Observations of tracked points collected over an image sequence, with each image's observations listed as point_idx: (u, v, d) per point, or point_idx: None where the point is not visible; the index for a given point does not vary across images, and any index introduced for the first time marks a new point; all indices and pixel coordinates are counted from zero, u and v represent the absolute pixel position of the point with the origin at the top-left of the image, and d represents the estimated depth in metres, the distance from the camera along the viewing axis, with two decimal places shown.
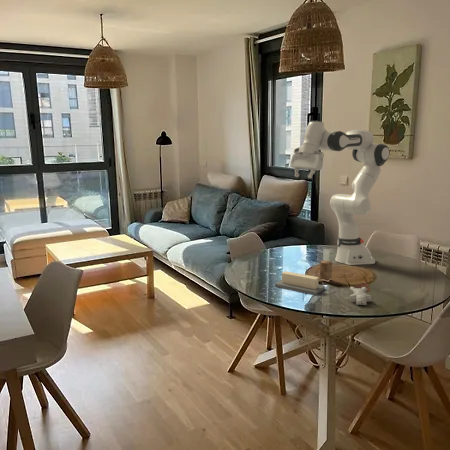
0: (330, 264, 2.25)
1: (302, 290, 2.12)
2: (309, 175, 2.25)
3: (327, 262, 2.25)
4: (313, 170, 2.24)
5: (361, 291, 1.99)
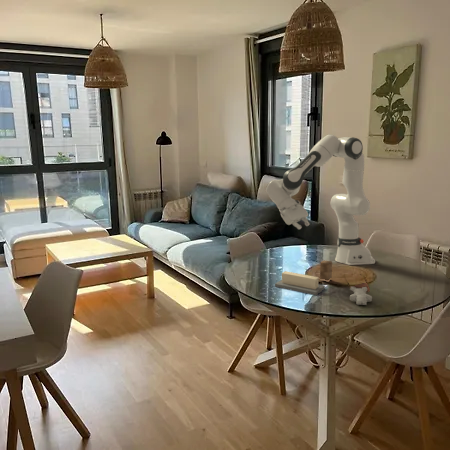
0: (330, 264, 2.25)
1: (302, 290, 2.12)
2: (297, 228, 2.26)
3: (327, 262, 2.25)
4: (293, 223, 2.25)
5: (361, 291, 1.99)
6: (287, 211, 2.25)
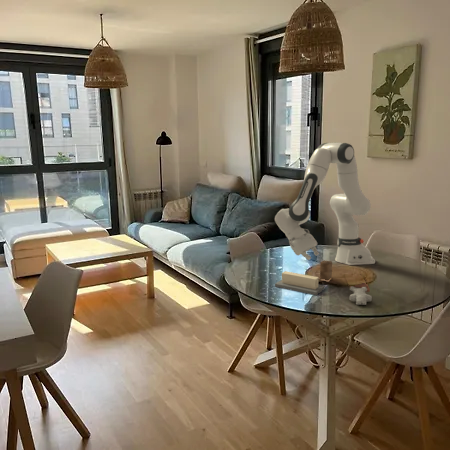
0: (330, 264, 2.25)
1: (302, 290, 2.12)
2: (306, 258, 2.26)
3: (327, 262, 2.25)
4: (302, 254, 2.25)
5: (361, 291, 1.99)
6: (296, 242, 2.25)
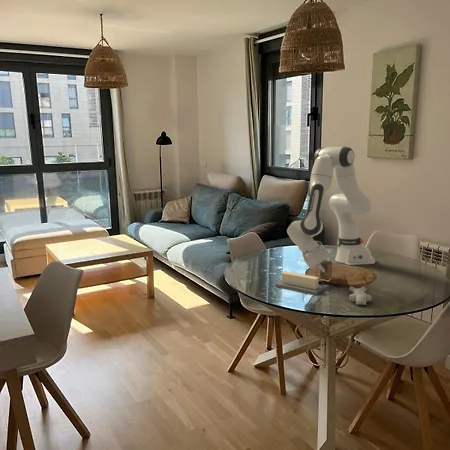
0: (330, 264, 2.25)
1: (302, 290, 2.12)
2: (321, 270, 2.24)
3: (327, 262, 2.25)
4: (318, 266, 2.24)
5: (361, 291, 1.99)
6: (310, 255, 2.22)
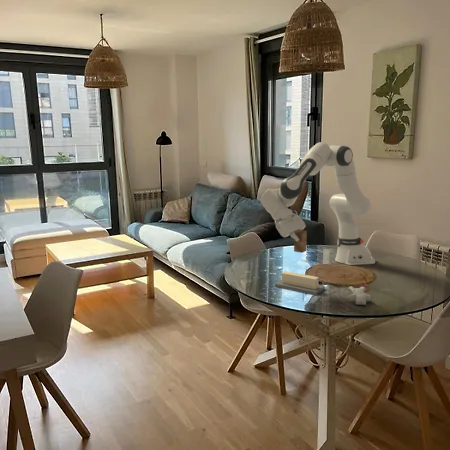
0: (304, 233, 2.12)
1: (302, 290, 2.12)
2: None
3: (301, 231, 2.12)
4: (291, 235, 2.10)
5: (360, 291, 2.00)
6: (283, 223, 2.09)
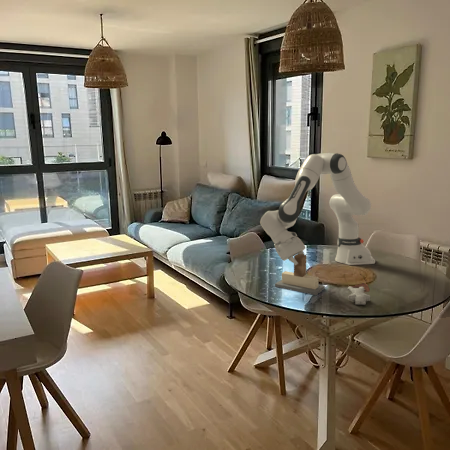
0: (304, 258, 2.14)
1: (302, 290, 2.12)
2: (294, 263, 2.12)
3: (301, 255, 2.14)
4: (289, 258, 2.12)
5: (360, 291, 2.00)
6: (283, 246, 2.11)
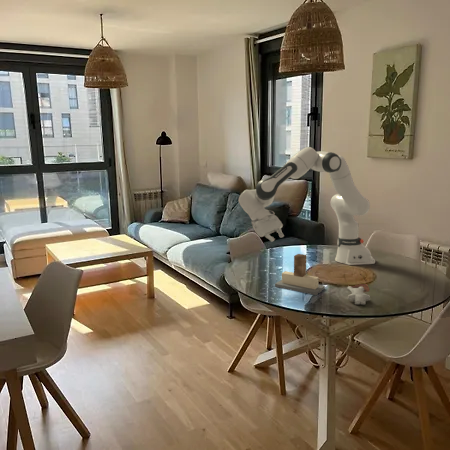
0: (304, 258, 2.14)
1: (302, 290, 2.12)
2: (270, 240, 2.17)
3: (301, 255, 2.14)
4: (266, 235, 2.16)
5: (359, 291, 2.00)
6: (259, 223, 2.16)
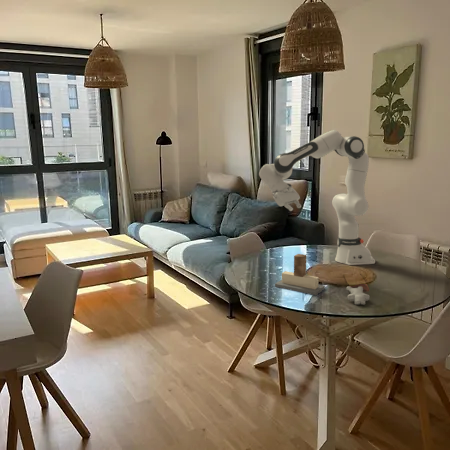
0: (304, 258, 2.14)
1: (302, 290, 2.12)
2: (289, 209, 2.36)
3: (301, 255, 2.14)
4: (285, 205, 2.35)
5: (359, 291, 2.00)
6: (279, 193, 2.35)
